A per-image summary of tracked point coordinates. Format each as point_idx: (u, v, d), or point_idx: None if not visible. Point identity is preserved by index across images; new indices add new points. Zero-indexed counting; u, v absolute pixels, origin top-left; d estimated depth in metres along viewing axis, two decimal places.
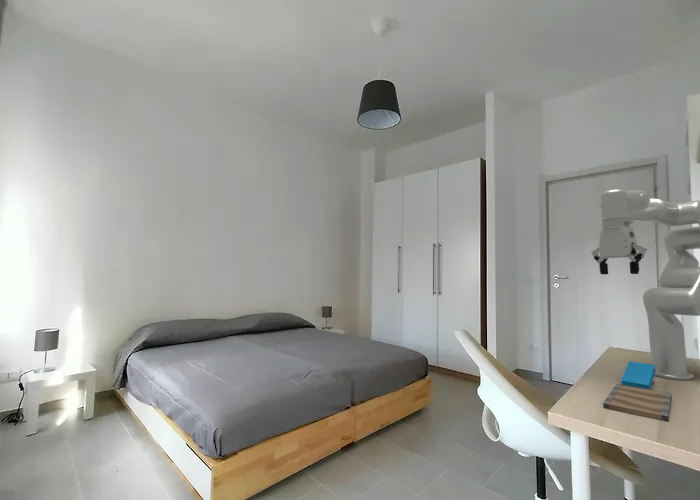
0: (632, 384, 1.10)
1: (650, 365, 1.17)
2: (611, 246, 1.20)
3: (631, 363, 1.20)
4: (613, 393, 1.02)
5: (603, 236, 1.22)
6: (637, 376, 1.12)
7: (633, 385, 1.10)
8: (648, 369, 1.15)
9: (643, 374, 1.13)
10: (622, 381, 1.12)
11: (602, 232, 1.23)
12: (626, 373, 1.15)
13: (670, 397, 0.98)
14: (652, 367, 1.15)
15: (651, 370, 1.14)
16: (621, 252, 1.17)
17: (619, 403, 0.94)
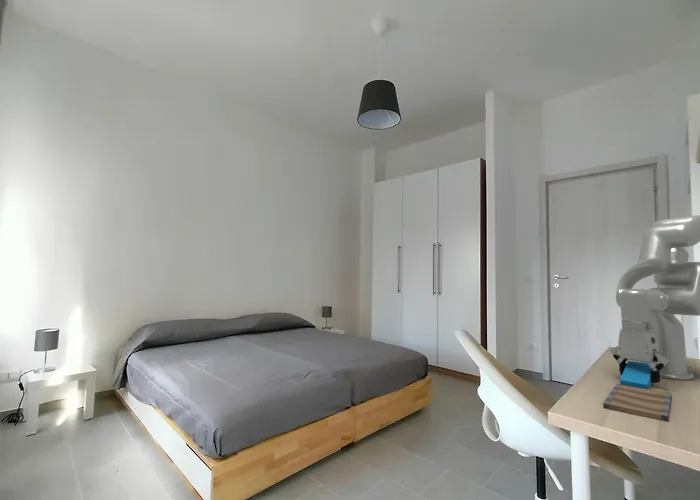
0: (631, 384, 1.10)
1: None
2: (631, 349, 1.16)
3: (630, 362, 1.20)
4: (613, 393, 1.02)
5: (623, 337, 1.19)
6: (635, 376, 1.12)
7: (632, 385, 1.10)
8: (647, 369, 1.14)
9: (642, 374, 1.13)
10: (621, 381, 1.12)
11: (621, 332, 1.19)
12: (625, 373, 1.15)
13: (670, 397, 0.98)
14: None
15: (650, 370, 1.14)
16: (642, 358, 1.13)
17: (619, 403, 0.94)
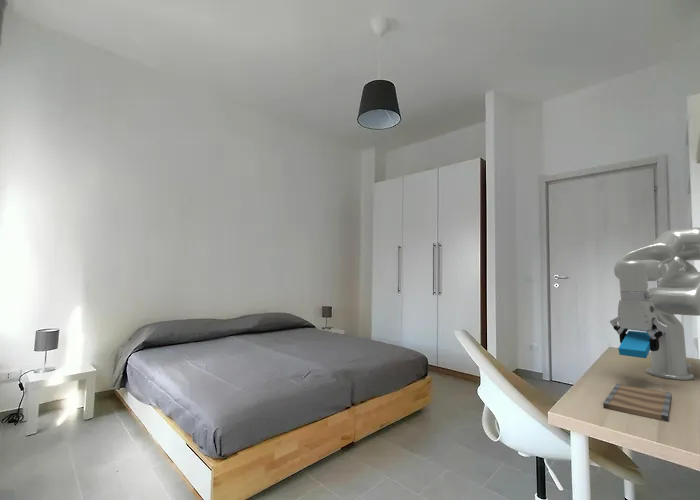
0: (629, 351, 1.12)
1: None
2: (630, 319, 1.17)
3: (630, 332, 1.21)
4: (613, 393, 1.02)
5: (622, 307, 1.20)
6: (634, 344, 1.14)
7: (630, 352, 1.12)
8: (647, 337, 1.16)
9: (641, 342, 1.14)
10: (619, 349, 1.14)
11: (620, 303, 1.20)
12: (624, 342, 1.16)
13: (670, 397, 0.98)
14: None
15: (649, 338, 1.15)
16: (641, 327, 1.15)
17: (619, 403, 0.94)
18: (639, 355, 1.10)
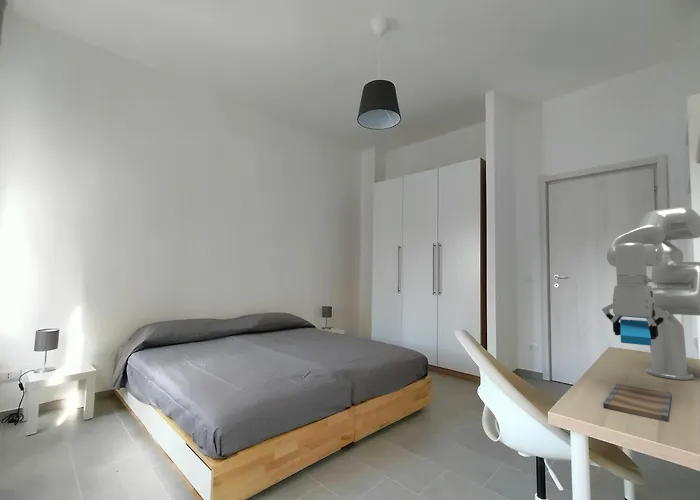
0: (632, 338, 1.01)
1: (643, 321, 1.10)
2: (628, 305, 1.08)
3: (623, 320, 1.13)
4: (613, 393, 1.02)
5: (618, 293, 1.11)
6: (635, 331, 1.04)
7: (633, 339, 1.01)
8: (644, 325, 1.07)
9: (640, 329, 1.05)
10: (622, 336, 1.03)
11: (617, 288, 1.11)
12: (623, 329, 1.07)
13: (670, 397, 0.98)
14: (646, 323, 1.08)
15: (647, 325, 1.07)
16: (641, 313, 1.06)
17: (619, 403, 0.94)
18: (643, 342, 1.00)
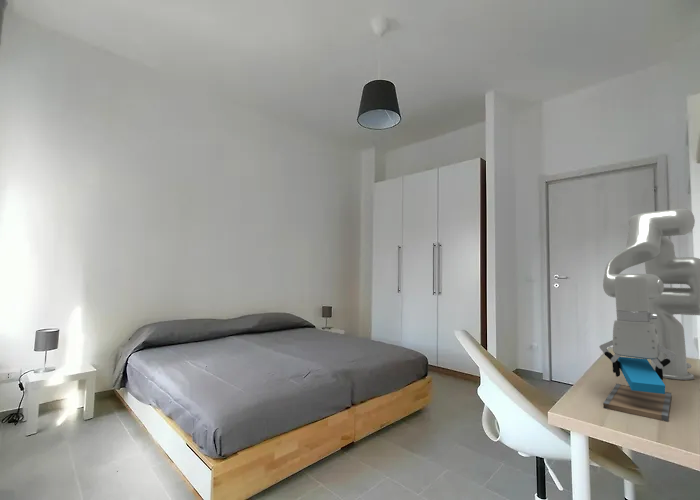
0: (645, 386, 0.90)
1: (643, 360, 1.01)
2: (632, 344, 0.98)
3: (621, 359, 1.03)
4: (613, 393, 1.02)
5: (620, 330, 1.00)
6: (643, 375, 0.93)
7: (646, 387, 0.90)
8: (646, 365, 0.98)
9: (647, 372, 0.95)
10: (633, 383, 0.91)
11: (618, 324, 1.00)
12: (629, 372, 0.95)
13: (670, 397, 0.98)
14: (647, 362, 0.99)
15: (650, 366, 0.97)
16: (646, 354, 0.96)
17: (619, 403, 0.94)
18: (657, 390, 0.89)
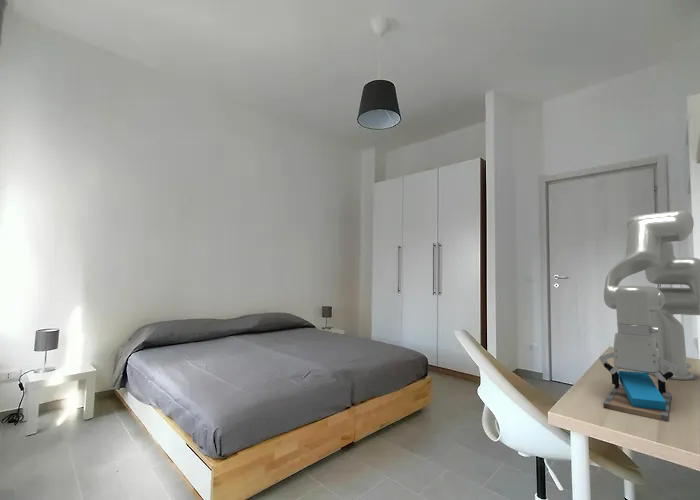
0: (646, 402, 0.90)
1: (644, 374, 1.00)
2: (633, 358, 0.97)
3: (622, 373, 1.02)
4: (613, 393, 1.02)
5: (621, 343, 0.99)
6: (644, 391, 0.93)
7: (647, 403, 0.90)
8: (647, 380, 0.97)
9: (647, 387, 0.95)
10: (633, 399, 0.91)
11: (619, 337, 1.00)
12: (630, 388, 0.95)
13: (670, 397, 0.98)
14: (648, 376, 0.99)
15: (650, 380, 0.97)
16: (647, 368, 0.95)
17: (619, 403, 0.94)
18: (658, 406, 0.89)
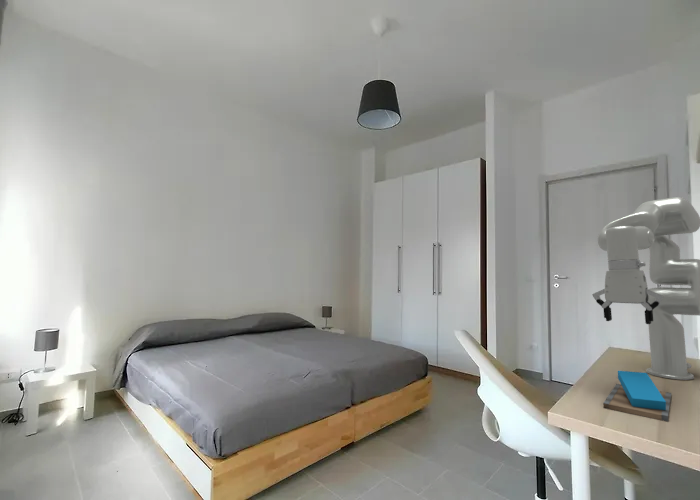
0: (646, 402, 0.90)
1: (643, 374, 1.00)
2: (622, 291, 1.05)
3: (621, 373, 1.02)
4: (613, 393, 1.02)
5: (611, 279, 1.07)
6: (644, 391, 0.93)
7: (647, 403, 0.90)
8: (647, 380, 0.98)
9: (647, 387, 0.95)
10: (633, 399, 0.91)
11: (609, 273, 1.07)
12: (630, 388, 0.95)
13: (670, 397, 0.98)
14: (647, 376, 0.99)
15: (650, 380, 0.97)
16: (634, 299, 1.03)
17: (619, 403, 0.94)
18: (658, 406, 0.89)
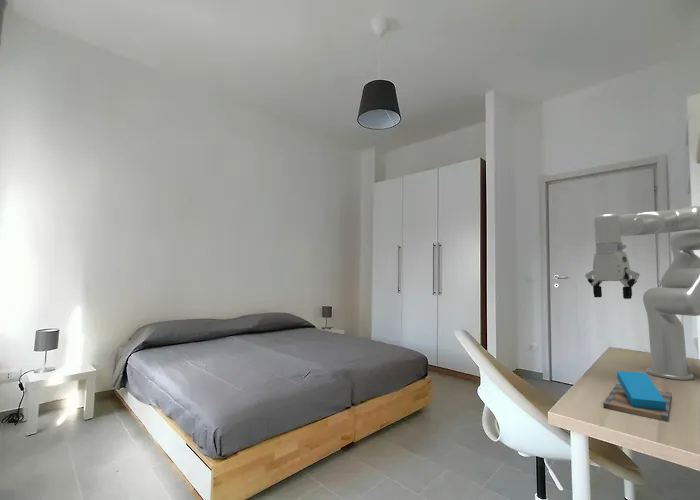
0: (646, 402, 0.90)
1: (642, 374, 1.01)
2: (604, 270, 1.20)
3: (621, 373, 1.02)
4: (613, 393, 1.02)
5: (596, 260, 1.23)
6: (643, 391, 0.93)
7: (647, 403, 0.90)
8: (646, 380, 0.98)
9: (647, 387, 0.95)
10: (633, 399, 0.91)
11: (596, 255, 1.24)
12: (629, 388, 0.95)
13: (670, 397, 0.98)
14: (647, 376, 0.99)
15: (649, 380, 0.97)
16: (614, 277, 1.18)
17: (619, 403, 0.94)
18: (657, 406, 0.89)
